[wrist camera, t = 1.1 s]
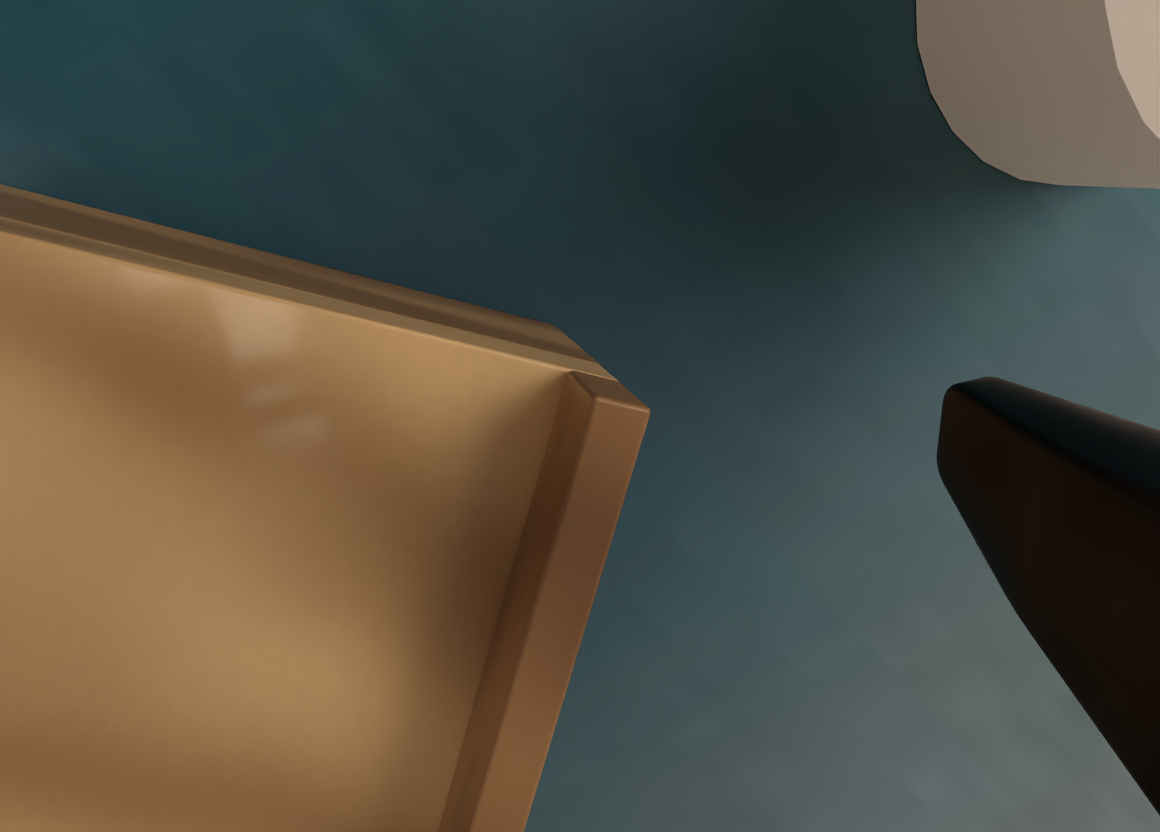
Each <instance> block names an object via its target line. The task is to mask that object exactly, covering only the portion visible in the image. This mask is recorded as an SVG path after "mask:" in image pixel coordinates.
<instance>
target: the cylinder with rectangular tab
mask: <svg viewBox="0 0 1160 832" xmlns="http://www.w3.org/2000/svg"><path fill="white" fill-rule="evenodd" d="M916 18H917V44H918V48H919V52H920V56H921V59H922V63H923V67H924V70H925V74H926V78H927V82H928V85H929V89H930V92H931V94H932V96H933V98H934V99H935V101H936V103H937V105H938V106H939V108H940V110H941V112H942V113H943V115H944V117H945V119H946V120H947V122H948V124H949V126H950V127H951V129H952V131H953V132H954V133H955V134H956V135H957V136H958V137H959V138H960V139H961V140H962V141H963V142H964V143H965V144H966V145H967V146H968V147H969V148H970V149H971V150H972V151H973V152H974V153H975V154H976V155H977V156H978V157H979V158H980V159H981V160H982V161H983V162H985V163H987V164H989V165H991V166H993V167H995V168H997V169H999V170H1001V171H1003V172H1005V173H1007V174H1009V175H1012V176H1014V177H1016V178H1018V179H1020V180H1026V181H1033V182H1040V183H1048V184H1055V185H1071V186H1101V187H1132V188H1160V0H916Z"/></svg>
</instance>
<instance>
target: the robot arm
mask: <svg viewBox="0 0 1160 832" xmlns="http://www.w3.org/2000/svg"><path fill="white" fill-rule="evenodd" d="M937 466H938V470H939V474H940V476H941V479H942V481H943V483H944V485H945V487H946V489H947V491H948V492H949V494H950V496H951V498H952V500H953V501H954V503H955V505H956V507H957V509H958V510H959V512H960V514H961V516H962V518H963V519H964V521H965V523H966V525H967V527H968V528H969V530H970V532H971V534H972V536H973V537H974V539H975V541H976V543H977V545H978V546H979V548H980V550H981V552H982V554H983V555H984V557H985V559H986V561H987V563H988V564H989V566H990V568H991V570H992V572H993V573H994V575H995V577H996V579H997V581H998V582H999V584H1000V586H1001V588H1002V590H1003V591H1004V593H1005V595H1006V596H1007V598H1008V600H1009V601H1010V603H1011V605H1012V606H1013V608H1014V610H1015V611H1016V613H1017V614H1018V616H1019V617H1020V619H1021V620H1022V622H1023V623H1024V625H1025V626H1026V628H1027V629H1028V631H1029V632H1030V634H1031V635H1032V636H1033V638H1034V639H1035V641H1036V642H1037V643H1038V645H1039V646H1040V648H1041V649H1042V651H1043V652H1044V653H1045V655H1046V656H1047V658H1048V659H1049V660H1050V662H1051V663H1052V665H1053V666H1054V667H1055V669H1056V670H1057V672H1058V673H1059V674H1060V676H1061V677H1062V679H1063V680H1064V681H1065V683H1066V684H1067V686H1068V687H1069V689H1070V690H1071V691H1072V693H1073V694H1074V696H1075V697H1076V698H1077V700H1078V701H1079V703H1080V704H1081V705H1082V707H1083V708H1084V710H1085V711H1086V712H1087V714H1088V715H1089V717H1090V718H1091V719H1092V721H1093V722H1094V724H1095V725H1096V727H1097V728H1098V729H1099V731H1100V732H1101V734H1102V735H1103V736H1104V738H1105V739H1106V741H1107V742H1108V743H1109V745H1110V746H1111V748H1112V749H1113V750H1114V752H1115V753H1116V755H1117V756H1118V757H1119V759H1120V760H1121V762H1122V763H1123V765H1124V766H1125V767H1126V769H1127V770H1128V772H1129V773H1130V774H1131V776H1132V777H1133V779H1134V780H1135V781H1136V783H1137V784H1138V786H1139V787H1140V788H1141V790H1142V791H1143V793H1144V794H1145V795H1146V797H1147V798H1148V800H1149V801H1150V802H1151V804H1152V805H1153V807H1154V808H1155V810H1156V811H1157V812H1158V814H1159V815H1160V431H1159V430H1156V429H1153V428H1150V427H1147V426H1144V425H1141V424H1138V423H1135V422H1132V421H1129V420H1125V419H1122V418H1119V417H1116V416H1113V415H1110V414H1107V413H1104V412H1101V411H1098V410H1095V409H1092V408H1089V407H1086V406H1083V405H1079V404H1076V403H1073V402H1070V401H1067V400H1064V399H1061V398H1058V397H1055V396H1052V395H1049V394H1046V393H1043V392H1040V391H1036V390H1033V389H1030V388H1027V387H1024V386H1021V385H1018V384H1015V383H1012V382H1009V381H1006V380H1003V379H1000V378H996V377H984V378H979V379H975V380H971V381H966V382H962V383H957V384H954V385H952V386H951V387H950V388H949V389H948V390H947V391H946V393H945V395H944V399H943V405H942V414H941V422H940V431H939V440H938V448H937Z"/></svg>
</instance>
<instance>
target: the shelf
mask: <svg viewBox="0 0 1160 832" xmlns="http://www.w3.org/2000/svg"><path fill="white" fill-rule="evenodd" d="M649 416H650V409H649V408H648V407H647V406H646V405H645V404H644V403H642V402H641V401H640V400H639V399H638V398H637V397H636V396H634V395H633V394H632V393H631V392H630V391H629V390H627V389H626V388H625V387H624V386H623V385H622V384H621V383H619V382H618V381H617V380H616V379H615V378H614V377H613V376H612V375H611V374H609V373H608V372H607V371H606V370H605V369H604V368H602V367H601V366H600V365H599V363H598V362H597V361H595V360H594V359H593V358H592V357H591V356H590V355H588V354H587V353H586V352H585V351H584V350H583V349H581V348H580V347H579V346H578V345H577V344H576V343H575V342H573V341H572V340H571V339H570V338H569V337H568V336H566V335H565V334H564V333H563V332H562V331H561V330H559V329H558V328H557V327H556V326H555V325H552V324H548V323H544V322H540V321H536V320H532V319H528V318H524V317H520V316H517V315H513V314H509V313H505V312H501V311H497V310H493V309H489V308H485V307H481V306H477V305H473V304H469V303H465V302H461V301H457V300H454V299H450V298H446V297H442V296H438V295H434V294H430V293H426V292H422V291H418V290H414V289H410V288H406V287H402V286H398V285H395V284H391V283H387V282H383V281H379V280H375V279H371V278H367V277H363V276H359V275H355V274H351V273H347V272H343V271H339V270H335V269H332V268H328V267H324V266H320V265H316V264H312V263H308V262H304V261H300V260H296V259H292V258H288V257H284V256H280V255H276V254H273V253H269V252H265V251H261V250H257V249H253V248H249V247H245V246H241V245H237V244H233V243H229V242H225V241H221V240H217V239H213V238H210V237H206V236H202V235H198V234H194V233H190V232H186V231H182V230H178V229H174V228H170V227H166V226H162V225H158V224H154V223H151V222H147V221H143V220H139V219H135V218H131V217H127V216H123V215H119V214H115V213H111V212H107V211H103V210H99V209H95V208H91V207H88V206H84V205H80V204H76V203H72V202H68V201H64V200H60V199H56V198H52V197H48V196H44V195H40V194H36V193H32V192H29V191H25V190H21V189H17V188H13V187H9V186H5V185H1V184H0V832H524V829H525V826H526V823H527V819H528V816H529V813H530V809H531V806H532V803H533V799H534V796H535V793H536V790H537V786H538V783H539V780H540V776H541V773H542V770H543V766H544V763H545V760H546V757H547V753H548V750H549V747H550V743H551V740H552V737H553V733H554V730H555V727H556V723H557V720H558V717H559V714H560V710H561V707H562V704H563V700H564V697H565V694H566V690H567V687H568V684H569V681H570V677H571V674H572V671H573V667H574V664H575V661H576V657H577V654H578V651H579V647H580V644H581V641H582V638H583V634H584V631H585V628H586V624H587V621H588V618H589V614H590V611H591V608H592V605H593V601H594V598H595V595H596V591H597V588H598V585H599V581H600V578H601V575H602V571H603V568H604V565H605V562H606V558H607V555H608V552H609V548H610V545H611V542H612V538H613V535H614V532H615V529H616V525H617V522H618V519H619V515H620V512H621V509H622V505H623V502H624V499H625V495H626V492H627V489H628V486H629V482H630V479H631V476H632V472H633V469H634V466H635V462H636V459H637V456H638V453H639V449H640V446H641V443H642V439H643V436H644V433H645V429H646V426H647V423H648V419H649Z"/></svg>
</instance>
